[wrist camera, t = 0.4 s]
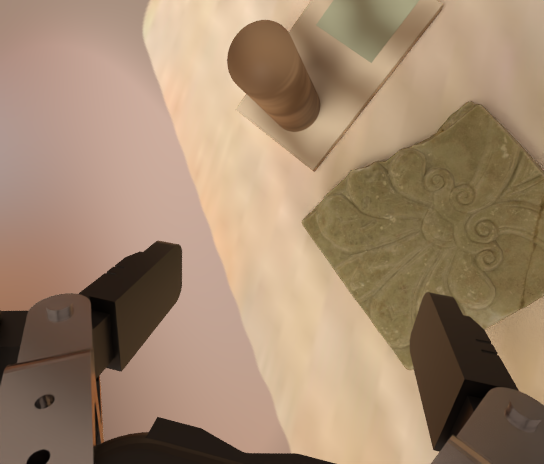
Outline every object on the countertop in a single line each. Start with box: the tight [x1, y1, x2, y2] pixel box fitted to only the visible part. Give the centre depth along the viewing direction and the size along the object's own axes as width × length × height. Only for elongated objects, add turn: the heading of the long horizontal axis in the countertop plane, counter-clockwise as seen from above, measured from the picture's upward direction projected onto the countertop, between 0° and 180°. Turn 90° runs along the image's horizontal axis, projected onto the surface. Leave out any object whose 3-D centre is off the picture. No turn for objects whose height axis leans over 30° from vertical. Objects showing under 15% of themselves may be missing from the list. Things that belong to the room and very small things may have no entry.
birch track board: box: [236, 0, 443, 171], centre depth 36 cm, size 19×11×1 cm, turn 142°
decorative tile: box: [302, 102, 544, 370], centre depth 33 cm, size 19×20×4 cm
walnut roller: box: [227, 20, 320, 132], centre depth 30 cm, size 5×5×12 cm
